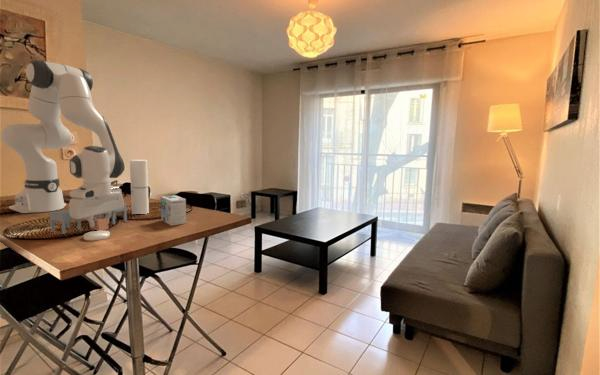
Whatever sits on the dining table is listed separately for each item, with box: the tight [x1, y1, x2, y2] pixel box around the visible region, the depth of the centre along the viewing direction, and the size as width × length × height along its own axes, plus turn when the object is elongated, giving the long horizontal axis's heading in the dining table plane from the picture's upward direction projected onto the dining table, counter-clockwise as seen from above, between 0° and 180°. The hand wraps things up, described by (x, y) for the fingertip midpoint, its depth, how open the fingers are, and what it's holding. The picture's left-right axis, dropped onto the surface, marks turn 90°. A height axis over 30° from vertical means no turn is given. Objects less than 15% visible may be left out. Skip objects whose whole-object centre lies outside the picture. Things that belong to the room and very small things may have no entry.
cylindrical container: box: [129, 159, 150, 215], centre depth 145 cm, size 7×7×25 cm
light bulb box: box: [160, 194, 187, 226], centre depth 134 cm, size 11×7×11 cm, turn 45°
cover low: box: [49, 208, 82, 234], centre depth 116 cm, size 6×6×8 cm
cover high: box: [100, 203, 128, 225], centre depth 130 cm, size 6×6×8 cm
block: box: [90, 218, 109, 231], centre depth 120 cm, size 4×4×4 cm
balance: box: [95, 179, 123, 221], centre depth 134 cm, size 6×17×16 cm, turn 162°
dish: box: [82, 230, 111, 242], centre depth 112 cm, size 8×8×1 cm
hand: (99, 225), depth 120 cm, fingers closed on block, 4 cm apart
